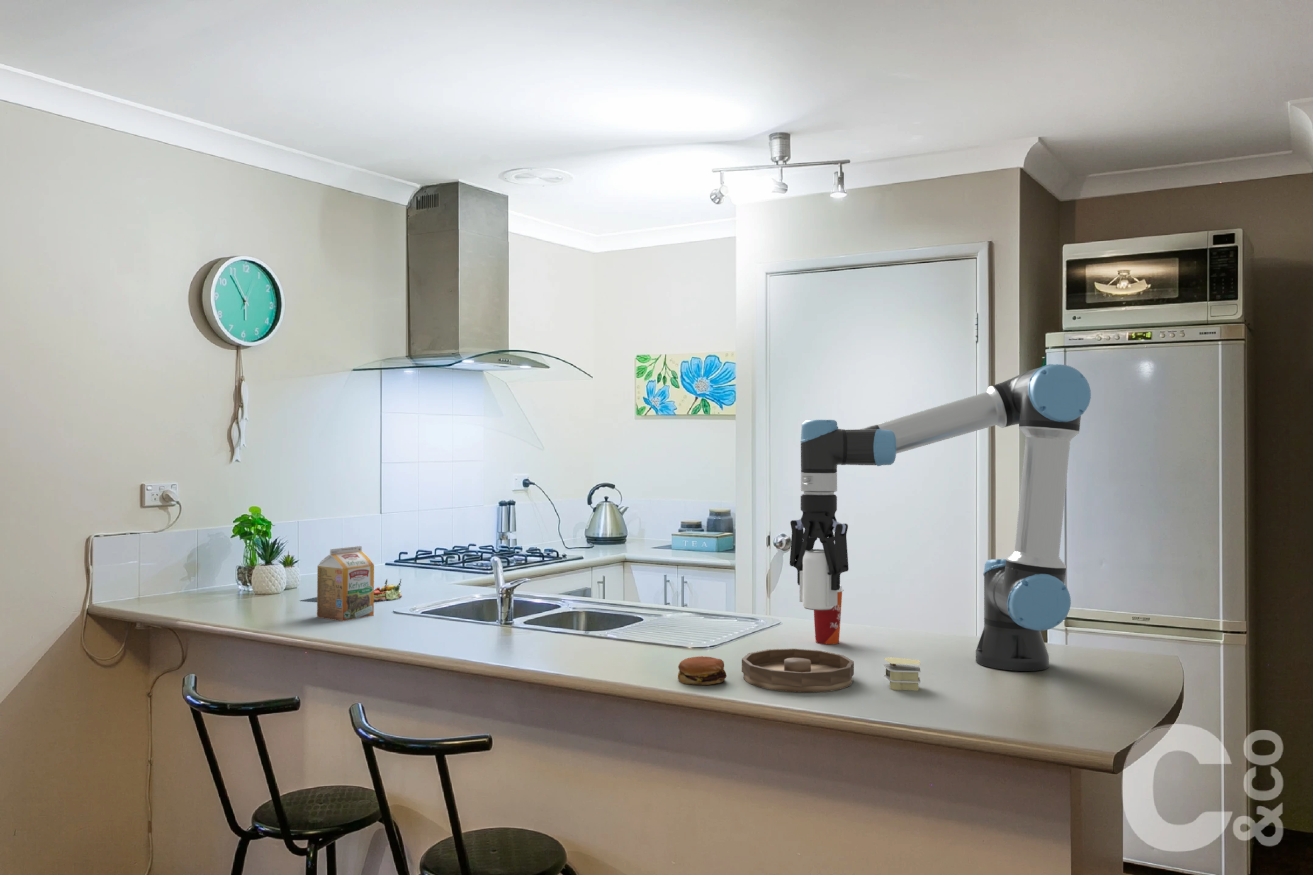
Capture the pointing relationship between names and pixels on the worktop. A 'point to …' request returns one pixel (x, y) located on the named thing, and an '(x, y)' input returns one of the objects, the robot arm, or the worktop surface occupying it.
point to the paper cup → (828, 622)
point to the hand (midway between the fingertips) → (818, 603)
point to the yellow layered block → (902, 673)
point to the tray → (798, 670)
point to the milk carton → (345, 585)
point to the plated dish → (378, 593)
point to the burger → (701, 671)
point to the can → (815, 580)
